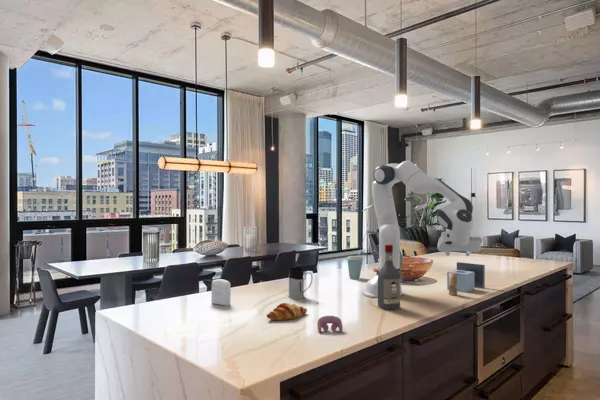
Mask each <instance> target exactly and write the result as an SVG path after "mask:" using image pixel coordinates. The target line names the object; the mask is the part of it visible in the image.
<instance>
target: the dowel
mask: <svg viewBox="0 0 600 400" xmlns="http://www.w3.org/2000/svg"><path fill="white" fill-rule="evenodd" d="M448 295H449V296H450V297H451V296H452V297H455V296H458V291H457V274H456V273H449V290H448Z"/></svg>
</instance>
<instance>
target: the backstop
mask: <svg viewBox="0 0 600 400" xmlns="http://www.w3.org/2000/svg"><path fill="white" fill-rule="evenodd" d="M485 269H486V265H485V264H480V263H470V262H469V263H468V262H460V261H458V262H456V270H462V271H471V272H474V288H477V289H485V288H486V286H485V285H486V284H485V283H486V282H485V281H486V279H485V278H486V276H485V275H486V273H485V272H486V270H485Z"/></svg>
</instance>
